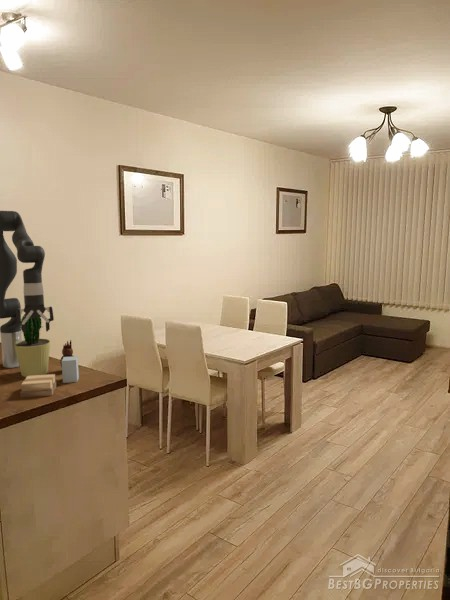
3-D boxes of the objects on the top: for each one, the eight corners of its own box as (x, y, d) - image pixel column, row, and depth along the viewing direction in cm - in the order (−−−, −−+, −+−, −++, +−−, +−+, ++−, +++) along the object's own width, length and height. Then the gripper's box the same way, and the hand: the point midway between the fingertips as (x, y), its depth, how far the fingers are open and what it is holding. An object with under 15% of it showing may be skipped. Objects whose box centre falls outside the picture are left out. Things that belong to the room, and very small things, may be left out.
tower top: (28, 382, 192) (27, 375, 192) (55, 380, 194) (55, 373, 194) (21, 391, 182) (21, 384, 181) (50, 389, 184) (50, 382, 183)
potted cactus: (22, 381, 200) (17, 314, 195) (12, 372, 212) (7, 309, 207) (57, 374, 210) (53, 310, 205) (46, 366, 222) (41, 305, 217)
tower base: (27, 388, 193) (27, 382, 192) (57, 386, 195) (56, 380, 195) (20, 399, 181) (19, 392, 181) (52, 397, 184) (51, 390, 183)
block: (65, 378, 204) (63, 356, 203) (78, 377, 205) (77, 356, 204) (62, 382, 198) (61, 360, 197) (77, 382, 199) (75, 360, 198)
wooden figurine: (78, 369, 216) (76, 339, 214) (70, 373, 211) (68, 342, 209) (66, 368, 219) (64, 338, 216) (58, 371, 213) (56, 340, 211)
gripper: (51, 292, 195) (53, 329, 197) (14, 294, 189) (17, 332, 191) (52, 293, 188) (55, 331, 190) (15, 295, 182) (17, 335, 184)
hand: (36, 332), depth 190 cm, fingers open, 8 cm apart
